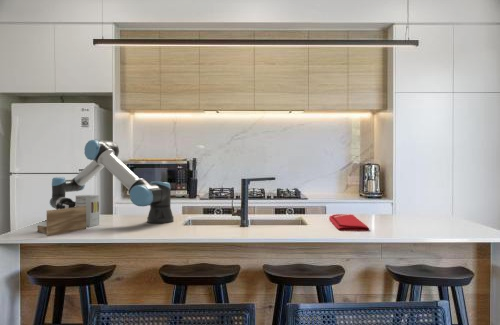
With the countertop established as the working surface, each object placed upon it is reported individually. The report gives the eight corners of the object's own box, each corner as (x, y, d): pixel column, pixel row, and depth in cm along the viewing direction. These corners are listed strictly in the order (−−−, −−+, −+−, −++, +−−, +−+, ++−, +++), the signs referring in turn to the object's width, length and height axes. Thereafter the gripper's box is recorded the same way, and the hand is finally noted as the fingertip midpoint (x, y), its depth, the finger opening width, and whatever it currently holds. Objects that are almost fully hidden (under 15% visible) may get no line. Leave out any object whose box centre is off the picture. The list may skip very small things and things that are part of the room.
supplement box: (90, 227, 230) (90, 195, 230) (74, 226, 232) (74, 195, 232) (100, 224, 239) (99, 194, 239) (85, 223, 241) (85, 194, 241)
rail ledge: (86, 229, 223) (86, 206, 223) (48, 235, 204) (47, 210, 203) (67, 226, 230) (67, 204, 230) (28, 233, 211) (28, 208, 211)
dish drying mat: (338, 231, 217) (338, 224, 217) (328, 220, 258) (328, 213, 258) (369, 231, 216) (369, 224, 216) (354, 220, 257) (354, 214, 257)
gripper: (85, 208, 266) (101, 211, 251) (43, 211, 248) (57, 215, 233) (85, 196, 266) (100, 198, 251) (43, 199, 248) (57, 201, 233)
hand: (80, 206), depth 242 cm, fingers open, 13 cm apart
